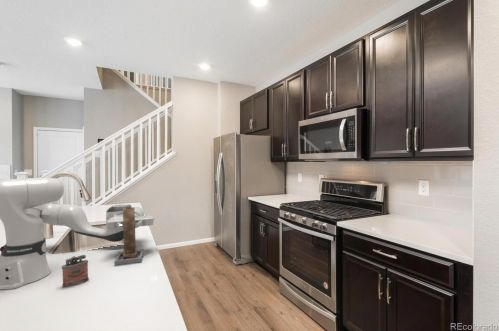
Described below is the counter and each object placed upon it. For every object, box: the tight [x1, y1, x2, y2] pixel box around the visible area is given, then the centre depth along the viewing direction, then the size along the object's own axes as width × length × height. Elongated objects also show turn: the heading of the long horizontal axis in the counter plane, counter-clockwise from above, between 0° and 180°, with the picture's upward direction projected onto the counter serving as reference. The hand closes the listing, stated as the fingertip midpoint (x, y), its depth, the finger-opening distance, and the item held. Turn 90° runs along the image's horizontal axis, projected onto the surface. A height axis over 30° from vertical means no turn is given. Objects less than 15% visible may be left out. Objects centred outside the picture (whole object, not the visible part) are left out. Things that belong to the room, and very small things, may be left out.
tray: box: [113, 249, 144, 267], centre depth 114 cm, size 11×11×2 cm
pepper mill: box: [122, 204, 138, 260], centre depth 114 cm, size 6×6×25 cm
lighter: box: [61, 254, 90, 289], centre depth 93 cm, size 8×3×10 cm, turn 131°
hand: (128, 226), depth 112 cm, fingers open, 5 cm apart
